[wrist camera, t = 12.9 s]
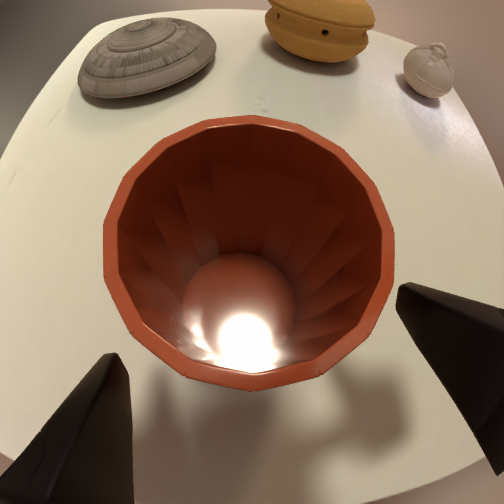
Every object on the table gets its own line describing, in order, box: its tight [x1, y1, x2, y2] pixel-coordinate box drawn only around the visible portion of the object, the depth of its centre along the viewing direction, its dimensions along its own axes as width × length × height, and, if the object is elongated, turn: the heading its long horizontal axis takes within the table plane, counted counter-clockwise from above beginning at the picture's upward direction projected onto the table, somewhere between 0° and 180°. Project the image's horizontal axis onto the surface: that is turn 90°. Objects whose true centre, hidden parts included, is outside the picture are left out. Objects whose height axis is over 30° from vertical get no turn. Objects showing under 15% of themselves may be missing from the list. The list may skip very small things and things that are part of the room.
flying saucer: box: [78, 18, 216, 98], centre depth 22 cm, size 15×15×6 cm
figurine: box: [403, 42, 454, 98], centre depth 24 cm, size 6×7×8 cm
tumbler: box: [103, 115, 395, 392], centre depth 12 cm, size 7×7×11 cm
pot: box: [265, 0, 375, 63], centre depth 23 cm, size 12×12×10 cm
